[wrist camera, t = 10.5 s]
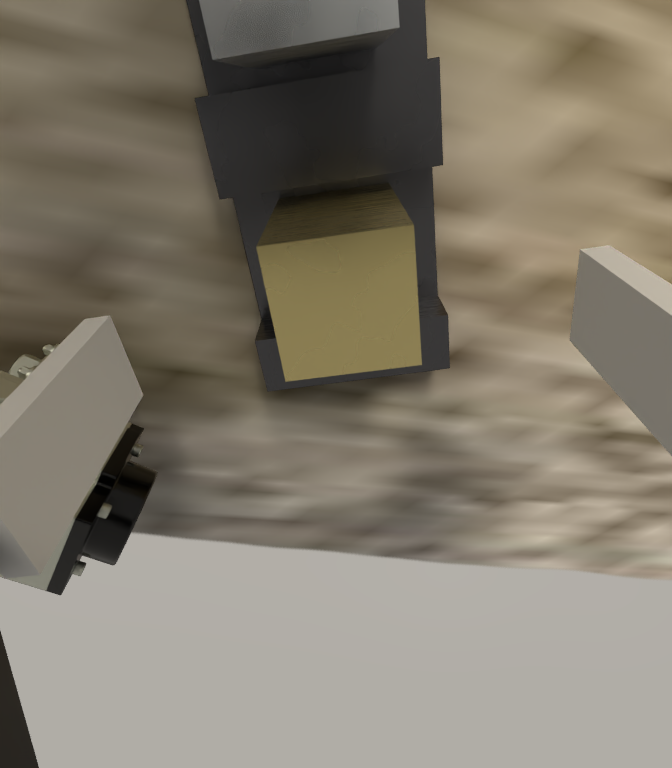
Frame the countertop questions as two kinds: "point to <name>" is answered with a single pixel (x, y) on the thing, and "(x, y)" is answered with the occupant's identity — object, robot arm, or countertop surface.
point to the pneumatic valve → (91, 499)
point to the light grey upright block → (294, 29)
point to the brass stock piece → (342, 282)
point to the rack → (331, 154)
